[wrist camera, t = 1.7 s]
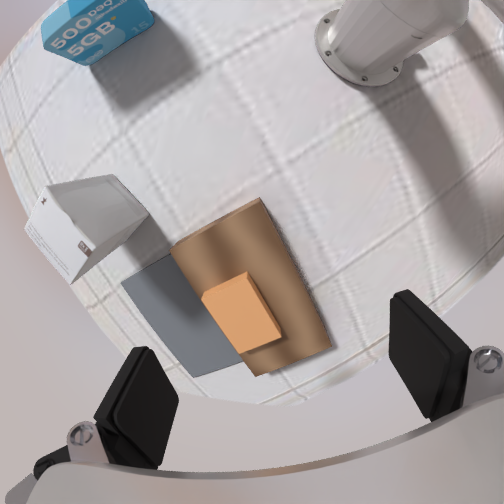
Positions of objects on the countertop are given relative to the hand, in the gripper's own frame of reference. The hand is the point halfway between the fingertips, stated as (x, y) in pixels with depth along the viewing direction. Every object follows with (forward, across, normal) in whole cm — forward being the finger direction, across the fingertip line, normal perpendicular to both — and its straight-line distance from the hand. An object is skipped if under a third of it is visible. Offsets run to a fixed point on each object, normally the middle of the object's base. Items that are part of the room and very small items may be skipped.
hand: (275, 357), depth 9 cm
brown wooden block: (+26, +2, +9) cm, 28 cm away
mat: (+26, +14, +12) cm, 32 cm away
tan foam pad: (+22, +4, +10) cm, 24 cm away
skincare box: (+26, +18, -7) cm, 32 cm away
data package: (+26, +13, -33) cm, 44 cm away
